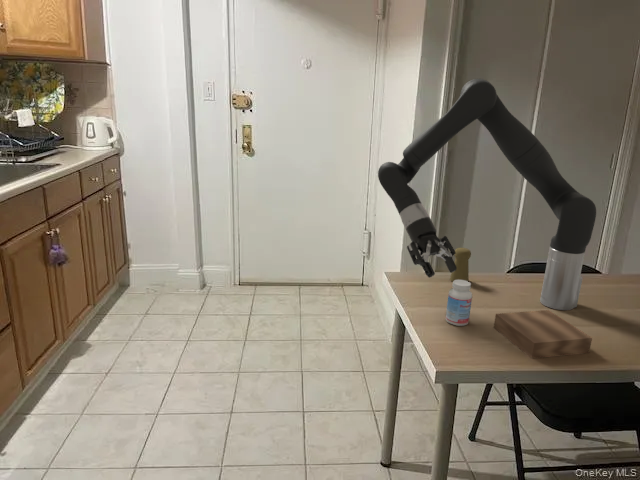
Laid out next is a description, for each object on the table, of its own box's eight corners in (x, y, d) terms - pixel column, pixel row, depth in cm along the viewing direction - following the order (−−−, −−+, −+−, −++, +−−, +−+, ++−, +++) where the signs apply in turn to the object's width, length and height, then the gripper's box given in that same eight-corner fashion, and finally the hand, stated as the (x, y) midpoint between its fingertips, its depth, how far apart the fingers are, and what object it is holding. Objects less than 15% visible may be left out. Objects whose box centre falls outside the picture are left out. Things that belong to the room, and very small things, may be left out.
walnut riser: (545, 323, 138) (548, 309, 137) (589, 352, 123) (592, 337, 122) (493, 327, 134) (495, 313, 133) (531, 358, 119) (534, 343, 118)
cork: (469, 285, 163) (473, 252, 160) (449, 282, 164) (454, 250, 161) (467, 278, 169) (472, 246, 166) (449, 276, 170) (453, 245, 167)
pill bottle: (461, 328, 133) (467, 288, 129) (441, 321, 137) (445, 282, 133) (472, 321, 137) (478, 283, 134) (452, 314, 141) (457, 276, 138)
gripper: (406, 218, 138) (432, 271, 132) (443, 213, 146) (469, 263, 140) (391, 232, 144) (416, 284, 138) (427, 227, 151) (452, 275, 146)
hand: (443, 273), depth 139 cm, fingers open, 8 cm apart
